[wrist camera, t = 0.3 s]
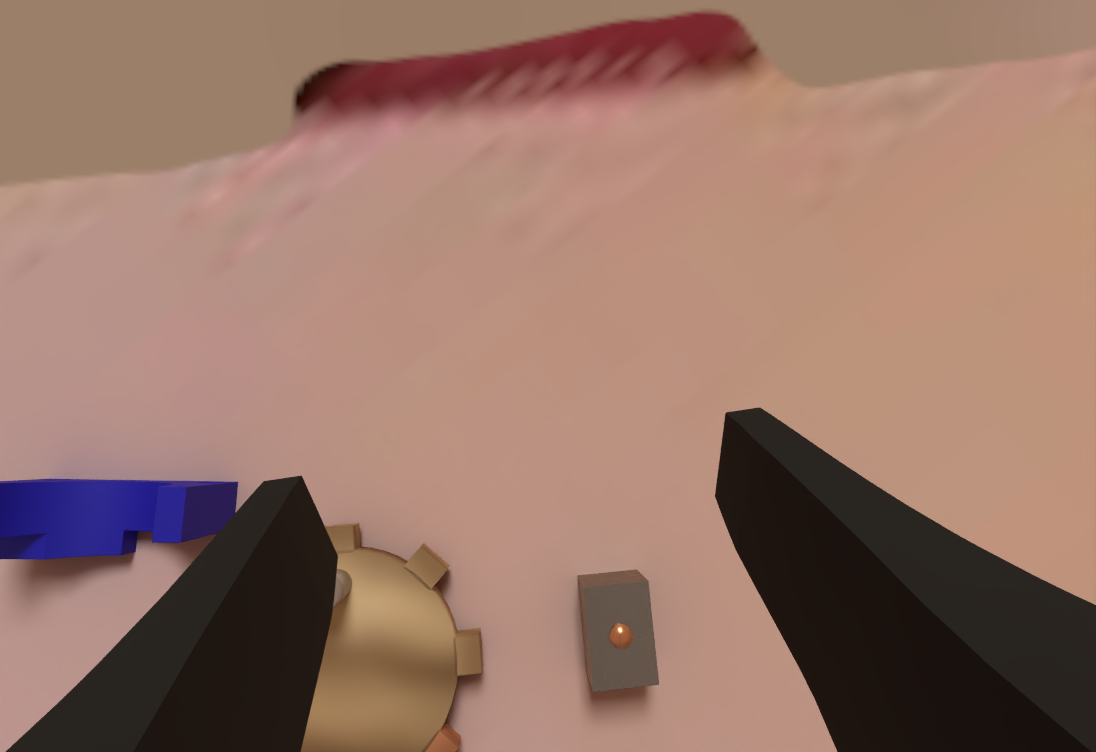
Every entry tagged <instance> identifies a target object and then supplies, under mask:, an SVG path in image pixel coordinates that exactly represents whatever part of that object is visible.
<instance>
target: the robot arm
mask: <svg viewBox="0 0 1096 752" xmlns="http://www.w3.org/2000/svg"><path fill="white" fill-rule="evenodd" d="M715 497H716V500H717V503H718V505H719V508H720V511H721V513H722V516H723V519H724V522H725V524H726V527H727V529H728V532H729V534H730V537H731V539H732V542H733V544H734V547H735V549H736V551H737V553H738V555H739V557H740V559H741V560H742V562H743V564H744V566H745V568H746V570H747V572H748V574H749V576H750V577H751V579H752V581H753V583H754V585H755V587H756V589H757V591H758V592H759V594H760V596H761V598H762V600H763V602H764V603H765V605H766V607H767V609H768V611H769V613H770V615H771V616H772V618H773V620H774V622H775V624H776V626H777V627H778V629H779V631H780V633H781V635H782V637H783V639H784V640H785V642H786V644H787V646H788V648H789V650H790V651H791V653H792V655H793V657H794V659H795V661H796V663H797V664H798V666H799V668H800V670H801V672H802V674H803V676H804V678H805V680H806V682H807V684H808V686H809V688H810V690H811V692H812V694H813V696H814V698H815V700H816V703H817V705H818V707H819V710H820V712H821V714H822V717H823V719H824V721H825V724H826V726H827V728H828V731H829V733H830V735H831V738H832V740H833V742H834V745H835V747H836V749H837V752H1096V605H1094V604H1092V603H1090V602H1088V601H1086V600H1083V599H1081V598H1079V597H1077V596H1075V595H1073V594H1071V593H1069V592H1066V591H1064V590H1062V589H1060V588H1058V587H1056V586H1054V585H1052V584H1050V583H1048V582H1046V581H1044V580H1042V579H1040V578H1038V577H1036V576H1034V575H1032V574H1030V573H1028V572H1026V571H1024V570H1022V569H1020V568H1019V567H1017V566H1015V565H1013V564H1011V563H1009V562H1007V561H1005V560H1003V559H1001V558H999V557H997V556H996V555H994V554H992V553H990V552H988V551H986V550H984V549H982V548H980V547H978V546H977V545H975V544H973V543H971V542H969V541H968V540H966V539H964V538H962V537H960V536H959V535H957V534H955V533H953V532H952V531H950V530H948V529H946V528H945V527H943V526H941V525H940V524H938V523H936V522H935V521H933V520H931V519H930V518H928V517H926V516H924V515H923V514H921V513H919V512H918V511H916V510H914V509H913V508H911V507H909V506H908V505H906V504H904V503H903V502H901V501H900V500H898V499H896V498H895V497H893V496H892V495H890V494H888V493H887V492H885V491H884V490H882V489H880V488H879V487H877V486H876V485H874V484H873V483H871V482H870V481H868V480H867V479H865V478H863V477H862V476H860V475H859V474H857V473H856V472H854V471H853V470H851V469H850V468H848V467H847V466H845V465H844V464H842V463H841V462H839V461H838V460H836V459H835V458H833V457H832V456H831V455H829V454H828V453H826V452H825V451H823V450H822V449H820V448H819V447H817V446H816V445H814V444H813V443H812V442H810V441H809V440H807V439H806V438H804V437H803V436H801V435H800V434H799V433H797V432H796V431H794V430H793V429H791V428H790V427H788V426H787V425H785V424H784V423H783V422H781V421H780V420H778V419H777V418H775V417H774V416H772V415H771V414H769V413H768V412H766V411H764V410H763V409H761V408H753V409H747V410H740V411H733V412H727V413H726V414H725V422H724V430H723V438H722V446H721V454H720V462H719V469H718V477H717V485H716V493H715ZM337 563H338V555H337V553H336V550H335V548H334V546H333V544H332V541H331V539H330V537H329V535H328V533H327V530H326V528H325V526H324V524H323V522H322V519H321V517H320V515H319V513H318V511H317V508H316V506H315V504H314V502H313V500H312V497H311V495H310V493H309V491H308V489H307V486H306V484H305V482H304V480H303V478H302V476H296V477H290V478H283V479H276V480H269V481H264V482H263V483H262V484H261V485H260V486H259V487H258V488H257V489H256V490H255V492H254V493H253V494H252V495H251V496H250V497H249V498H248V499H247V501H246V502H245V503H244V504H243V505H242V506H241V507H240V509H239V510H238V511H237V512H236V513H235V514H234V516H233V517H232V518H231V519H230V520H229V521H228V522H227V524H226V525H225V526H224V527H223V528H222V529H221V531H220V532H219V533H218V534H217V535H216V536H215V538H214V539H213V540H212V541H211V542H210V543H209V544H208V546H207V547H206V548H205V549H204V550H203V551H202V552H201V554H200V555H199V556H198V557H197V558H196V559H195V560H194V561H193V563H192V564H191V565H190V566H189V567H188V568H187V569H186V570H185V572H184V573H183V574H182V575H181V576H180V577H179V578H178V579H177V581H176V582H175V583H174V584H173V585H172V586H171V587H170V589H169V590H168V591H167V592H166V593H165V594H164V595H163V596H162V597H161V598H160V600H159V601H158V602H157V603H156V604H155V605H154V606H153V607H152V608H151V609H150V610H149V611H148V612H147V613H146V614H145V615H144V616H143V617H142V618H141V619H140V620H139V622H138V623H137V624H136V625H135V626H134V627H133V628H132V629H131V630H130V631H129V632H128V633H127V634H126V635H125V636H124V637H123V638H122V639H121V640H120V641H119V643H118V644H117V645H116V646H115V647H114V648H113V649H112V650H111V651H110V652H109V653H108V654H107V655H106V656H105V657H104V658H103V659H102V660H101V661H100V662H99V663H98V664H97V665H96V666H95V667H94V668H93V669H92V670H91V671H90V672H89V673H88V674H87V675H86V676H85V677H84V678H83V679H82V680H81V681H80V682H79V683H78V684H77V685H76V686H75V687H74V688H73V689H72V690H71V691H70V692H69V693H68V694H67V695H66V696H65V697H64V698H63V699H62V700H61V701H60V702H59V703H58V704H57V705H56V706H54V707H53V708H52V709H51V710H50V711H49V712H48V713H47V714H46V715H45V716H44V717H43V718H41V719H40V720H39V721H38V722H37V723H36V724H35V725H34V726H33V727H32V728H31V729H30V730H29V731H27V732H26V733H25V734H24V735H23V736H22V737H21V738H20V739H19V740H18V741H17V742H16V743H15V744H13V745H12V746H11V747H10V748H9V749H8V750H7V751H6V752H301V748H302V744H303V740H304V736H305V731H306V727H307V723H308V718H309V714H310V710H311V706H312V701H313V697H314V693H315V689H316V684H317V680H318V676H319V672H320V667H321V663H322V659H323V654H324V650H325V645H326V641H327V636H328V632H329V627H330V623H331V618H332V612H333V603H334V595H335V586H336V574H337Z"/></svg>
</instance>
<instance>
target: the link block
mask: <svg viewBox="0 0 1096 752" xmlns="http://www.w3.org/2000/svg"><path fill="white" fill-rule="evenodd" d="M578 584H579V595H580V607H581V618H582V629H583V641H584V652H585V663H586V672H587V675H588V678H589V681H590V684H591V688H592V691H593V692H599V691H608V690H616V689H625V688H634V687H643V686H651V685H659V680H658V670H657V660H656V651H655V641H654V632H653V622H652V613H651V603H650V593H649V584H648V580H647V579H646V578H645V577H644V576H643V575H642V574H641V573H640V572H639V571H638V570H628V571H618V572H608V573H598V574H588V575H578Z"/></svg>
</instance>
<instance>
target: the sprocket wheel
mask: <svg viewBox="0 0 1096 752" xmlns="http://www.w3.org/2000/svg"><path fill="white" fill-rule="evenodd" d="M325 528H326V530H327V533H328V535H329V537H330V539H331V541H332V544H333V546H334V548H335V550H336V553H337V555H338V563H337V574H336V586H335V595H334V603H333V612H332V618H331V623H330V627H329V632H328V636H327V641H326V645H325V650H324V654H323V659H322V663H321V667H320V672H319V676H318V680H317V684H316V689H315V693H314V697H313V701H312V706H311V710H310V714H309V718H308V723H307V727H306V731H305V736H304V740H303V744H302V748H301V752H456V751H457V749H458V748H459V743H460V738H461V736H460V735H459V734H458V733H457V732H456V731H455V730H453V729H452V728H451V727H450V726H449V725H448V724H447V723H445V720H446V718H447V715H448V712H449V710H450V707H451V704H452V701H453V697H454V693H455V689H456V685H457V681H458V676H460V675H468V674H477V673H482V668H483V657H482V643H481V629H480V628H477V629H468V630H459V631H457V629H456V625H455V621H454V618H453V616H452V613H451V611H450V608H449V606H448V604H447V602H446V601H445V599H444V597H443V595H442V594H441V592H440V591H439V590H438V588H437V587H436V586H435V584H436V583H437V582H438V580H439V579H440V578H441V577H442V575H443V574H444V573H445V572H446V571H447V569H448V567H449V566H450V565H449V564H447V563H446V562H445V561H444V560H443V559H442V558H441V557H439V556H438V555H437V554H436V553H435V552H434V551H432V550H431V549H430V548H429V547H428V546H427V545H425V544H423V545H422V546H421V547H420V548H419V549H418V550H417V551H416V553H415V554H414V555H413V556H412V557H411V559H410V560H409V561H406V560H404V559H403V558H401V557H399V556H397V555H394V554H391V553H389V552H386V551H383V550H378V549H374V548H368V547H360V529H359V523H355V524H345V525H334V526H325Z"/></svg>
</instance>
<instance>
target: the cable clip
mask: <svg viewBox="0 0 1096 752" xmlns="http://www.w3.org/2000/svg"><path fill="white" fill-rule="evenodd" d="M237 487H238V482H212V481H148V480H84V479H37V480H18V481H0V559H53V558H65V557H79V556H102V555H124V554H128V553H132V552H135V551H136V543H137V534H138V531H149V532H153V539H152V542H165V543H181V542H185V541H189V540H192V539H196V538H200V537H204V536H207V535H211V534H215V533H219V532H220V531H221V529H222V528H223V527H224V526H225V525H226V524H227V522H228V521H229V520H230V519H231V518H232V517H233V516H234V514H235V508H236V498H237Z"/></svg>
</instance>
